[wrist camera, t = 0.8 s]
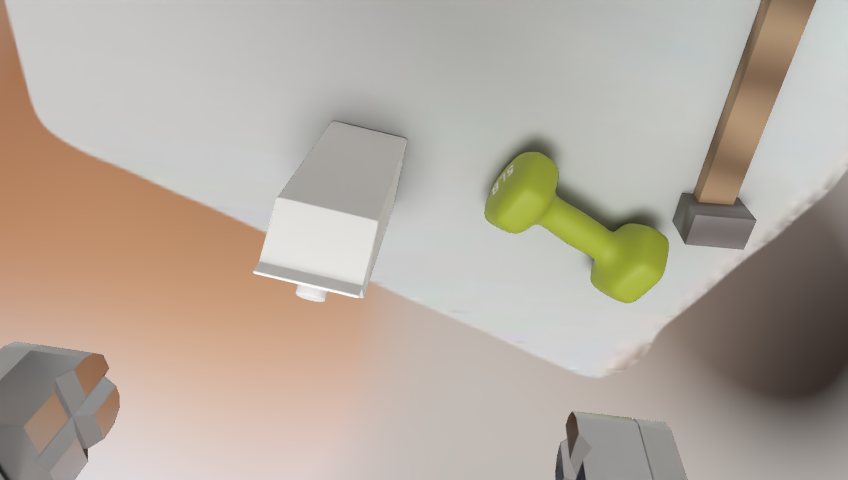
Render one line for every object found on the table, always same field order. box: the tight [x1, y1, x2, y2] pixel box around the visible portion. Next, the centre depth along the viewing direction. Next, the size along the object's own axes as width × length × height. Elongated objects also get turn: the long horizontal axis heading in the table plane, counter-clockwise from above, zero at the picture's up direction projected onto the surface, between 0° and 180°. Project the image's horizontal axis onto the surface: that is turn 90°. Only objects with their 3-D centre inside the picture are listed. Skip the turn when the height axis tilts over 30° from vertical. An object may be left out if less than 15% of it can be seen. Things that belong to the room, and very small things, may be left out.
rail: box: [673, 0, 816, 250], centre depth 41 cm, size 30×5×4 cm, turn 178°
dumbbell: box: [484, 152, 669, 303], centre depth 49 cm, size 16×8×7 cm, turn 57°
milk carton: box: [253, 121, 407, 302], centre depth 43 cm, size 7×7×19 cm
